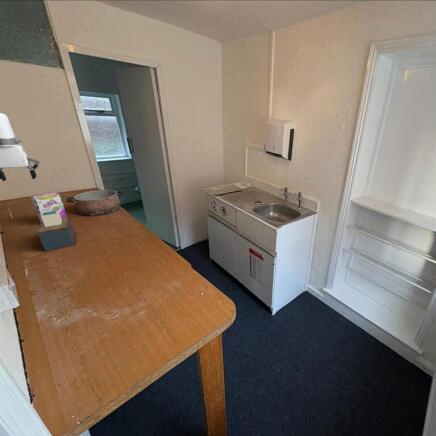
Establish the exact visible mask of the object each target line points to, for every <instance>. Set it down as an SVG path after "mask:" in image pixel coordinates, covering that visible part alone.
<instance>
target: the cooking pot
mask: <svg viewBox="0 0 436 436" xmlns="http://www.w3.org/2000/svg"><path fill="white" fill-rule="evenodd" d="M124 195H125V192H124V191H123V190H119V191H116V190H112V189H100V190H99V189H98V190H91V191H86V192H81V193H78V194H77V195H74V196H71V197H70V196H69V197H67V198H66V202H67V203H75V205H76V208H77V210H78V213H79V214H80V215H81V216H84V217H85V216H86V217H97V216H103V215H108V214H112V213H114V212H117V211H119V210H120V208H121V202H120V199H119V197H121V196H124ZM119 207H120V208H119Z"/></svg>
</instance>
